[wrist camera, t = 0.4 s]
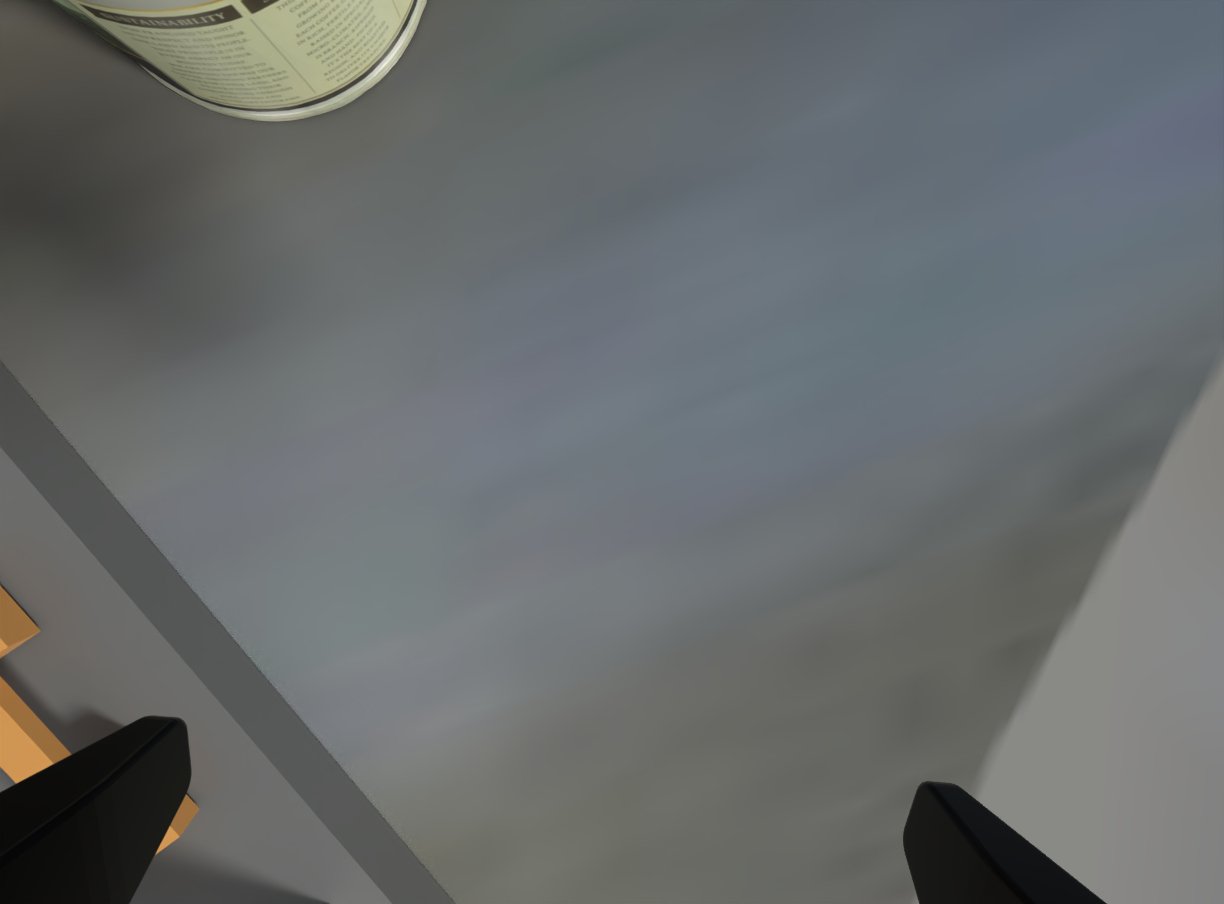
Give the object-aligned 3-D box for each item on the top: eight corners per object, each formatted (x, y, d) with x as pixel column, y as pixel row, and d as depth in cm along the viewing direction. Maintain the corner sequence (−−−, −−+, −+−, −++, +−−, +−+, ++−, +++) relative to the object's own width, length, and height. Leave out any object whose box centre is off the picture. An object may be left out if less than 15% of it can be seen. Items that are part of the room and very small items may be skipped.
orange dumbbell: (110, 874, 20) (80, 911, 19) (-134, 613, 19) (-188, 630, 17) (199, 808, 21) (177, 839, 19) (-32, 548, 19) (-77, 559, 18)
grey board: (275, 1029, 25) (243, 1103, 22) (-317, 393, 20) (-437, 396, 18) (456, 904, 25) (444, 965, 22) (-100, 241, 20) (-190, 225, 18)
